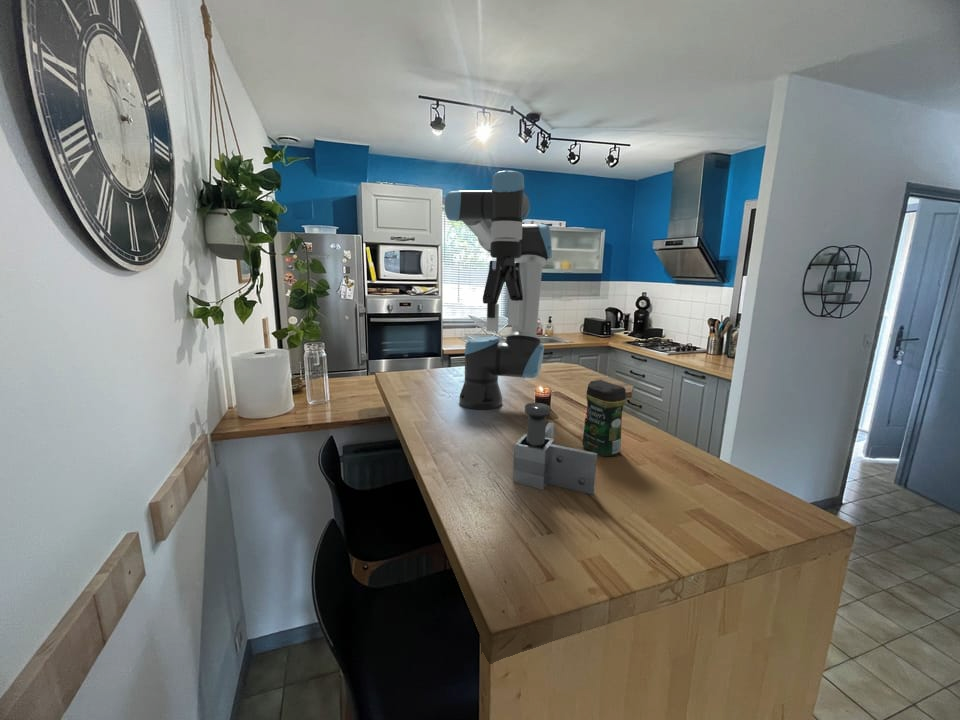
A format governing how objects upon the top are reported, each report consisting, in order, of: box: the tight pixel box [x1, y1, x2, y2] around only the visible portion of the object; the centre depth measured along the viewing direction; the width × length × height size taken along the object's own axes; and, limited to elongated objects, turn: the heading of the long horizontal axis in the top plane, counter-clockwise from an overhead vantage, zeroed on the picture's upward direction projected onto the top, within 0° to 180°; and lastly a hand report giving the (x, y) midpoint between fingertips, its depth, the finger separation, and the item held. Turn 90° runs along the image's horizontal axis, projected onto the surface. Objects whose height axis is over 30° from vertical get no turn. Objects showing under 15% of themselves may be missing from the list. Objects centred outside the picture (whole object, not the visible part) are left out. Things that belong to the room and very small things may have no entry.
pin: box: [524, 402, 552, 449], centre depth 92 cm, size 6×6×17 cm
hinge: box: [512, 421, 598, 496], centre depth 95 cm, size 17×17×9 cm
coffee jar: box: [581, 379, 627, 457], centre depth 108 cm, size 10×8×19 cm
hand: (503, 328), depth 105 cm, fingers open, 13 cm apart
